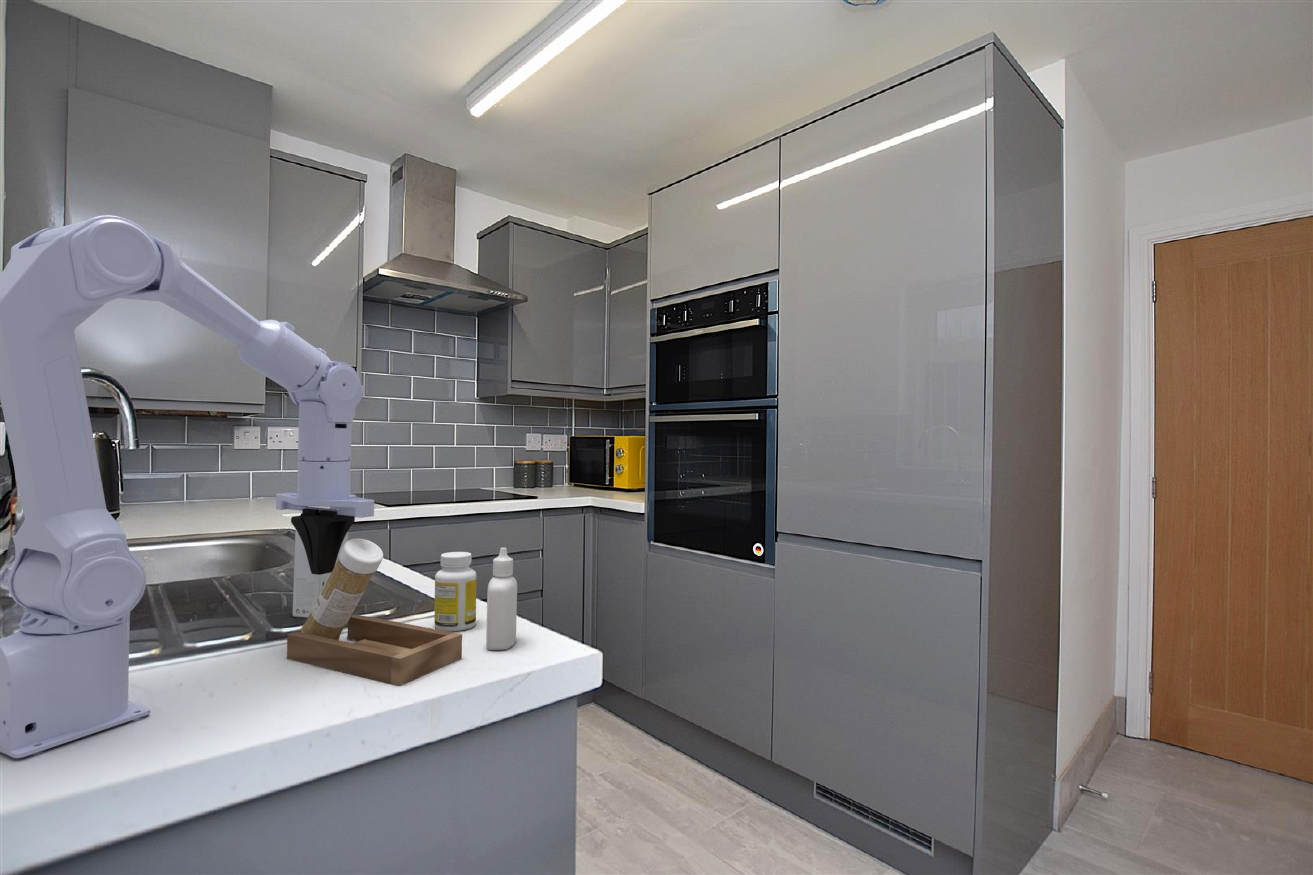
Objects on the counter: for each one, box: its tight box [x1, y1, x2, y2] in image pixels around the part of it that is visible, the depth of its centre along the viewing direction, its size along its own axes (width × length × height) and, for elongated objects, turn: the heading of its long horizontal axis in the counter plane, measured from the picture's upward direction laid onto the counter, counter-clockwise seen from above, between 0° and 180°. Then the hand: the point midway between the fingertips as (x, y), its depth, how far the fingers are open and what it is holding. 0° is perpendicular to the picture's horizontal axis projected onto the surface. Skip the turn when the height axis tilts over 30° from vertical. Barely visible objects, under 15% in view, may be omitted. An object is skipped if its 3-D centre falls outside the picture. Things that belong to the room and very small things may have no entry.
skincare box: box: [292, 531, 349, 619], centre depth 93 cm, size 6×4×12 cm
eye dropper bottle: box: [485, 547, 518, 651], centre depth 81 cm, size 4×6×12 cm
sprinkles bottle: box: [300, 537, 384, 641], centre depth 77 cm, size 5×5×14 cm
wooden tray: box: [286, 614, 463, 686], centre depth 75 cm, size 9×17×3 cm, turn 66°
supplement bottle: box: [434, 551, 477, 632], centre depth 88 cm, size 5×5×10 cm
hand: (322, 572), depth 79 cm, fingers closed
